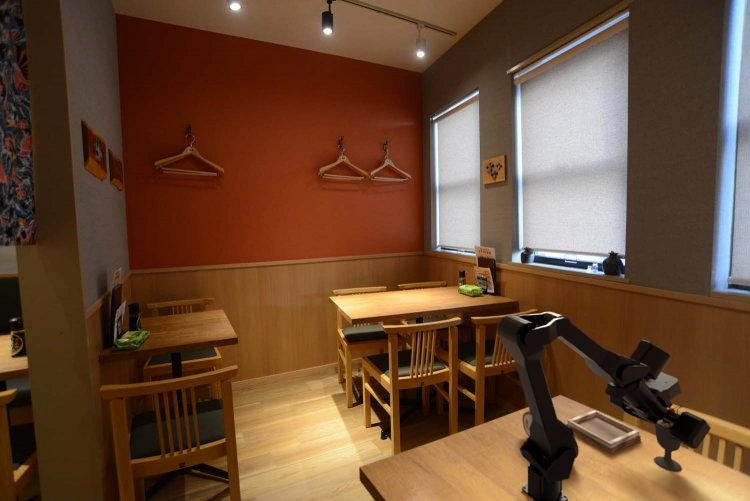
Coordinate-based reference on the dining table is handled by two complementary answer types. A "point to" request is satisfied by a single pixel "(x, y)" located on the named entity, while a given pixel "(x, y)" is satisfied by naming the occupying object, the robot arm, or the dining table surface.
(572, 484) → the dining table surface
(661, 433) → the sundae
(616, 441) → the board
